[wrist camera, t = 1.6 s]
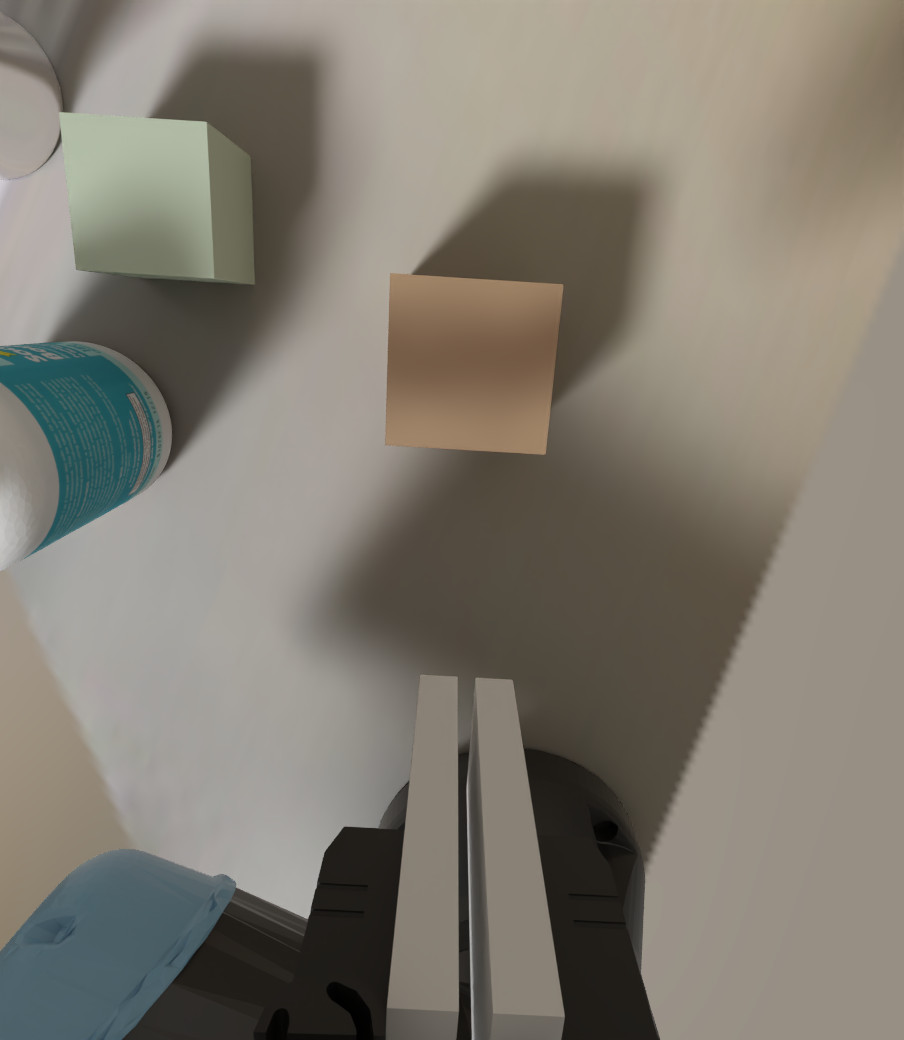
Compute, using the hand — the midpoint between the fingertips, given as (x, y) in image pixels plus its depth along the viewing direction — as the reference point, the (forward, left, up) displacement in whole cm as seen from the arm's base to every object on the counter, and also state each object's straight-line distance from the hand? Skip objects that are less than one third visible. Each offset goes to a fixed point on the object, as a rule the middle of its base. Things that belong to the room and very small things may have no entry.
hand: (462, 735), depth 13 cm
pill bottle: (+2, +17, -19) cm, 25 cm away
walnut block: (+6, 0, -18) cm, 19 cm away
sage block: (+11, +12, -19) cm, 25 cm away
